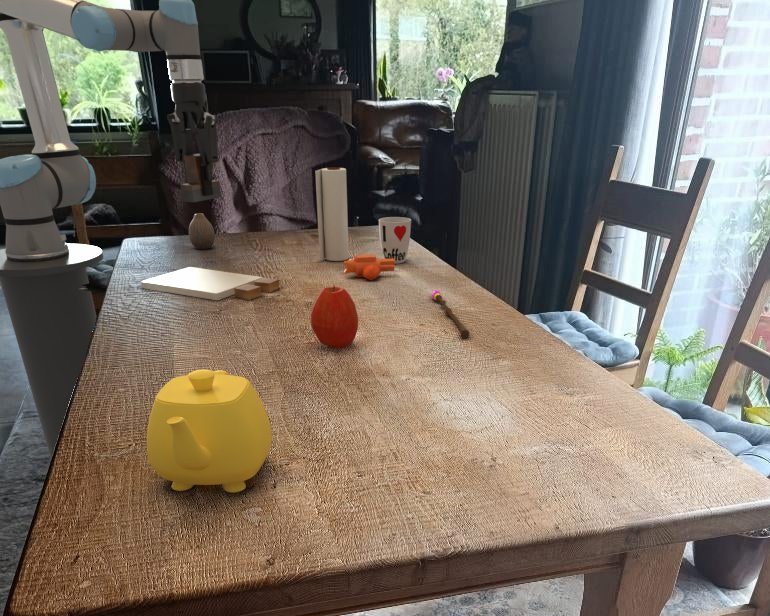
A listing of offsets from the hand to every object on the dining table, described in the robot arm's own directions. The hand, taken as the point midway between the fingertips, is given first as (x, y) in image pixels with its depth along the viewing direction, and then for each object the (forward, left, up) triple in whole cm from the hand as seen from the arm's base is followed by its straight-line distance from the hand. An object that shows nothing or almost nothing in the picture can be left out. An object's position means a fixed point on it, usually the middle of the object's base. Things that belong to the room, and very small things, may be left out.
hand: (201, 194), depth 172 cm
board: (+14, -19, -16) cm, 28 cm away
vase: (-14, +13, -16) cm, 25 cm away
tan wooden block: (+29, -14, -16) cm, 36 cm away
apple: (+63, -40, -16) cm, 76 cm away
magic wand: (+73, -13, -16) cm, 76 cm away
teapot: (+76, -88, -16) cm, 117 cm away
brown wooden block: (+29, -21, -16) cm, 39 cm away
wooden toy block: (0, 0, -1) cm, 1 cm away
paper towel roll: (+26, +18, -16) cm, 36 cm away
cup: (+41, +23, -16) cm, 50 cm away
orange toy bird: (+44, +5, -16) cm, 47 cm away
